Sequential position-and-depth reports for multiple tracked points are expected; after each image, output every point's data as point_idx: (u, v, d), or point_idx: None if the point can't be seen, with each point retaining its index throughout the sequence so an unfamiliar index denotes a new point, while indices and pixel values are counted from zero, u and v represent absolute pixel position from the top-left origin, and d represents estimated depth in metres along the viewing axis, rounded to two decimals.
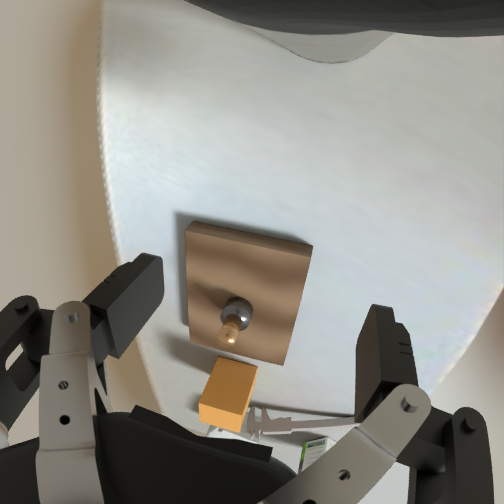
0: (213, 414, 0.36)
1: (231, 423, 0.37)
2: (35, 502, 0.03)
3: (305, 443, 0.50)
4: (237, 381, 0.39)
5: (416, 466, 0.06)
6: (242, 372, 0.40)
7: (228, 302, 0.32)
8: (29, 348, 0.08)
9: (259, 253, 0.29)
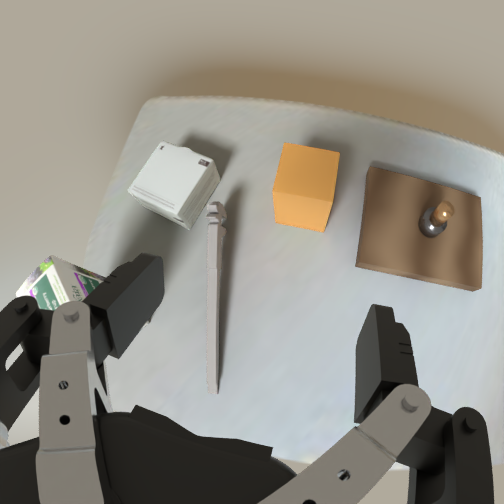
0: (316, 164, 0.29)
1: (300, 184, 0.29)
2: (34, 502, 0.03)
3: None
4: None
5: (416, 466, 0.06)
6: None
7: None
8: (29, 348, 0.08)
9: (477, 249, 0.31)
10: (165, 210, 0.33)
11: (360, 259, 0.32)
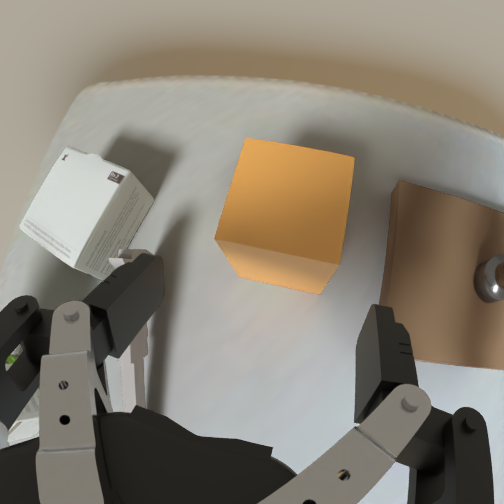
0: (308, 181, 0.15)
1: (273, 224, 0.14)
2: (34, 502, 0.03)
3: None
4: None
5: (416, 466, 0.06)
6: None
7: None
8: (29, 348, 0.08)
9: None
10: (60, 259, 0.19)
11: None
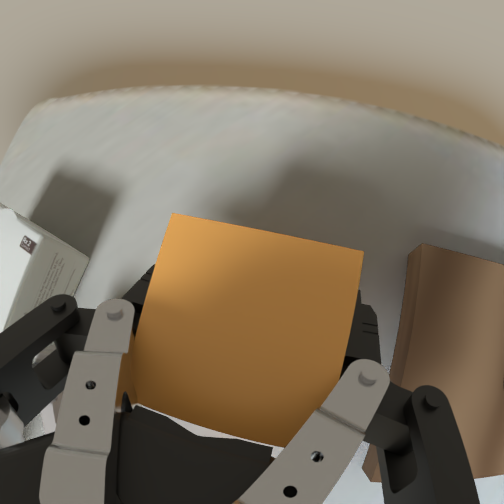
0: (275, 306, 0.08)
1: (209, 384, 0.08)
2: (34, 502, 0.03)
3: None
4: None
5: (380, 444, 0.07)
6: None
7: None
8: (65, 348, 0.08)
9: None
10: None
11: (374, 476, 0.11)
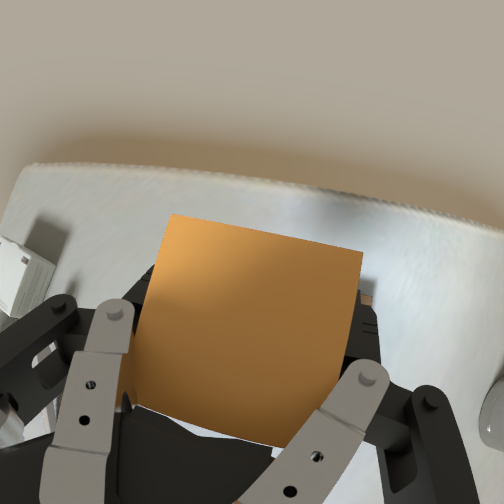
0: (274, 307, 0.08)
1: (208, 385, 0.08)
2: (34, 502, 0.03)
3: None
4: None
5: (380, 444, 0.07)
6: None
7: None
8: (66, 348, 0.08)
9: None
10: None
11: None
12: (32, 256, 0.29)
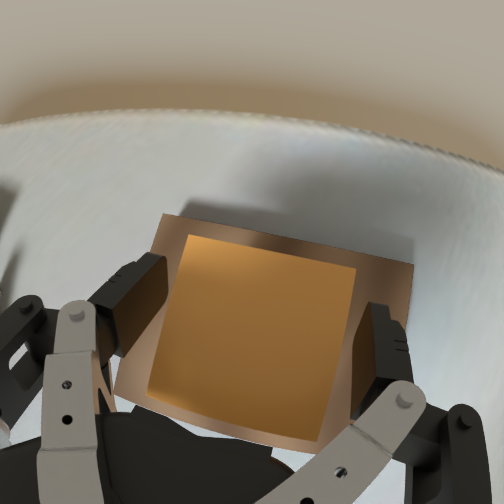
0: (280, 316, 0.10)
1: (224, 383, 0.09)
2: (35, 502, 0.03)
3: None
4: None
5: (412, 463, 0.06)
6: None
7: None
8: (34, 348, 0.08)
9: None
10: None
11: (115, 390, 0.17)
12: None
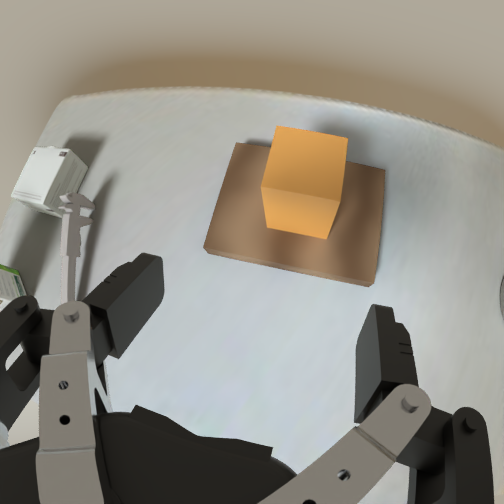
0: (318, 153, 0.22)
1: (297, 177, 0.22)
2: (34, 502, 0.03)
3: (17, 273, 0.33)
4: None
5: (416, 466, 0.06)
6: None
7: None
8: (29, 348, 0.08)
9: (372, 233, 0.28)
10: (36, 203, 0.31)
11: (205, 244, 0.30)
12: (70, 149, 0.32)
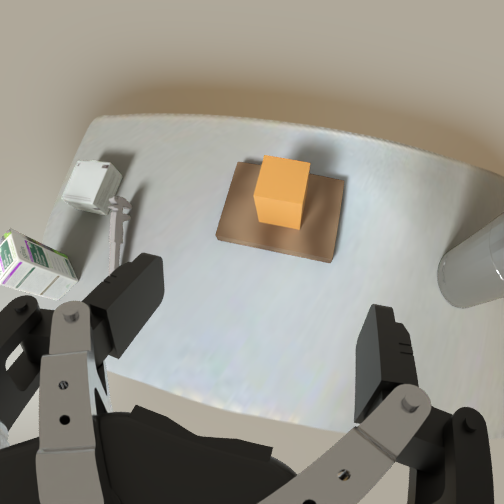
0: (290, 173, 0.36)
1: (276, 189, 0.36)
2: (35, 501, 0.03)
3: (66, 257, 0.47)
4: (303, 206, 0.40)
5: (416, 466, 0.06)
6: (302, 213, 0.41)
7: None
8: (29, 348, 0.08)
9: (332, 225, 0.42)
10: (85, 204, 0.45)
11: (216, 233, 0.43)
12: (111, 163, 0.46)
